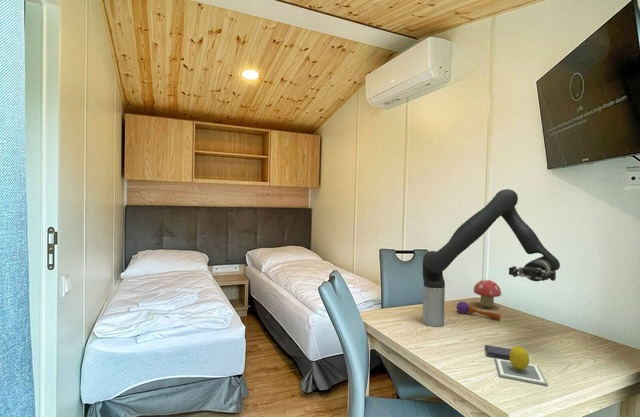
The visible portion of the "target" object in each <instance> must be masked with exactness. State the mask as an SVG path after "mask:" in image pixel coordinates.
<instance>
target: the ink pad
mask: <svg viewBox="0 0 640 417" xmlns="http://www.w3.org/2000/svg"><path fill="white" fill-rule="evenodd" d="M511 349H512V348H508V347H502V346H496V345H495V346H494V345H490V344H484V350H485V354H486V357H487V358H493V359H502V360H508V361H510V357H509V356H510V351H511Z"/></svg>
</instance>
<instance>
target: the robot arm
mask: <svg viewBox="0 0 640 417" xmlns="http://www.w3.org/2000/svg"><path fill="white" fill-rule="evenodd" d="M518 200H519V197H518V193H517V192H516V191H514V190H513V189H508V188H507V189H502V190H501V189H500V191H497V193H495V195H494V197H492V199H491V200H490V201H488V203H487V204H486V205H485V206H483V208H481V209H480V210H478V211H477V212H476V213H474V214H473V215H472V216H471V217H469V218H468V219H467V220H466V221H464V222H463V223H462V224H460V226H459V227H457V229H455V231H454V232H453V234H452V236H451V237H450V239H449V240H448V241H447V243H445V245H443V246H442V247H441V248H439V250H436V251H435V250H430V251H427V252H426V253H425V254H424V255H423V257H422V279H423V302H422V324H424V325H426V326H430V327H431V326H432V327H443V326H445V302H446V301H445V296H446V294H445V293H446V292H445V291H446V289H445V288H446V282H445V279H444V275H443V272H444V271H445V270H446V269H448V267H449V266H450V265H451V264H452V263H453V261H454V260H456V258H457V257H458V256H460V255H461V253H463V252H464V251H466V250H467V249H468V248H470V246H471V245H473V244H474V243H475V242H476V241H477V240H479V239H480V238H481V237H482V236H483V235H484V234H485V233H486V232H487V231H488V230H489V229H490V227H491V226H492V225H493V224H494V223H495V222H496V220H498V219H499V218H500V217H501V218H502V219H503V220H504V222H506V225H508V227H509V228H510V229H511V231H512V232H513V233H514V235H515V238H517V240H518V241H519V244H520V245H521V247H522V248H523V250H524V252H525V253H526V254H527V255H532V254H533V255H535V254H541V255H542V256H540V257H537V258H535V259H532V260H531V261H529V262H527V263H525V265H524V266H522V267H517V266H516V265H514V266H511V267H508V275H510V276H512V277H514V278H516V277H520V278H527V280H529V281H532V282H541V281H542V282H544V281H549V280H550V281H552V282H554V281H556V279H557V271H558V270H559V269H560V267H561V264H560V261H559V259H558V258H557V257H556V256H554V255H553V253H551V252H550V251H549V250H548V249H547V248H546V247H545V246H544V245H543V243H542V242H541V241H540V238H539V237H538V236H537V234H536V233H535V231H534V230H533V229H532V228H531V227H530V226H529V225H528V224H527V223H526V222H525V221H524V220H523V219H522V217H521V216H520V214H519V213H518V211H517V209H516V206H517V204H518Z"/></svg>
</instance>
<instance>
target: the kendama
mask: <svg viewBox="0 0 640 417" xmlns="http://www.w3.org/2000/svg"><path fill="white" fill-rule="evenodd" d="M456 310H457V312H459V313H460V314H464V315H465V314H467V313H468V315H470V314H475V313H478V314H479V315H483V316H485V317H488V318H491V319H493V320H495V321H498V322H499V321H500V320H501V318H502V317H501V315H502V314H501V313H496V312H495V313H494V312H491V311H483V310H477V309H476V308H475V307H473V306H472V305H471V304H470V305H469V304H468V303H467V302H465V301H459V302H458V303H457V304H456Z"/></svg>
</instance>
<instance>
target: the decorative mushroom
mask: <svg viewBox="0 0 640 417" xmlns="http://www.w3.org/2000/svg"><path fill="white" fill-rule="evenodd" d="M473 293H475V295H478V296H480V297H479V298H480V301H479V303H480V305H481V306H482V307H485V309H486V308H491V307H493V306H494V305H495V299H494V298H497V297H500V296H502V290H501V288H500V286H499V285H498V284H497V283H496V282H495V281H494V280H493V281H492V280H491V279H482V280H479V281H478V282H477V283H475V285H474V287H473Z"/></svg>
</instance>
